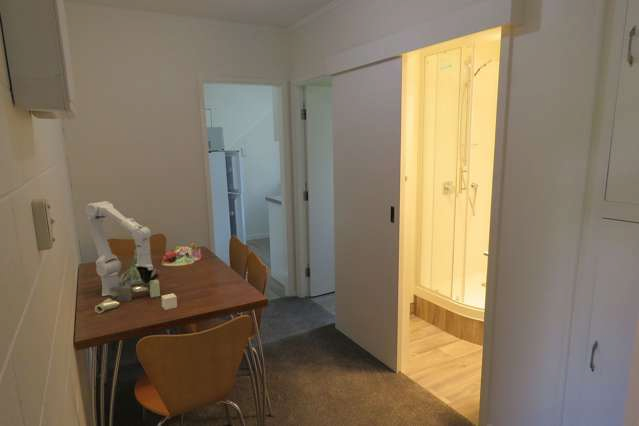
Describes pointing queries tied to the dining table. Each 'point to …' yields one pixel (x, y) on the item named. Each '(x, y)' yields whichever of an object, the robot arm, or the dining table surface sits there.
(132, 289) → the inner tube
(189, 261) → the toy food platter
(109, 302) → the pipe fitting
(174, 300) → the cream white cube
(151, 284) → the socket block
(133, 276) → the tree stump
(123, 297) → the grey boxy piece
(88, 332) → the dining table surface
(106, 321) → the dining table surface
